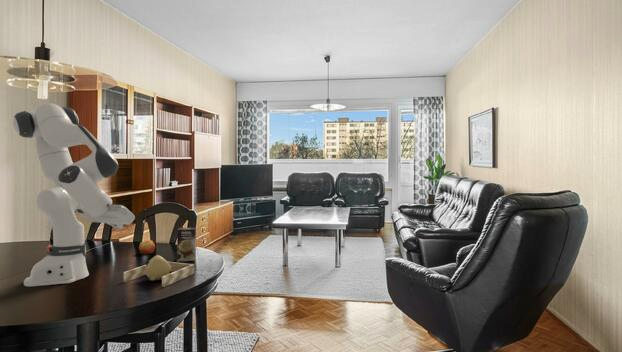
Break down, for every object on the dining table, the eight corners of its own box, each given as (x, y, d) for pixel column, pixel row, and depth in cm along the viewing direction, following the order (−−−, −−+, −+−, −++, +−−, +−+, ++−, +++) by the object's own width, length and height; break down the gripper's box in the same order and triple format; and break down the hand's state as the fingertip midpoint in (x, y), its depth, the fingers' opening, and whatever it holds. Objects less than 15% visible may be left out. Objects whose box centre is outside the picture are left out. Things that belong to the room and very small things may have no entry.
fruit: (158, 248, 207) (155, 237, 202) (154, 258, 200) (150, 247, 196) (144, 248, 206) (141, 237, 202) (139, 258, 200) (135, 247, 195)
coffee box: (176, 261, 183) (176, 229, 183) (177, 258, 190) (177, 227, 189) (195, 260, 186) (195, 229, 185) (196, 257, 192) (196, 226, 192)
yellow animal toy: (166, 274, 162) (166, 250, 162) (173, 281, 152) (173, 256, 152) (142, 278, 156) (142, 253, 156) (147, 285, 146) (147, 259, 146)
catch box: (164, 287, 145) (163, 277, 145) (123, 281, 151) (123, 272, 151) (194, 273, 164) (194, 264, 164) (157, 269, 170) (157, 260, 170)
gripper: (126, 198, 129) (146, 222, 139) (81, 196, 136) (103, 219, 145) (115, 212, 125) (137, 236, 135) (70, 209, 132) (94, 232, 141)
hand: (119, 227), depth 140 cm, fingers closed
